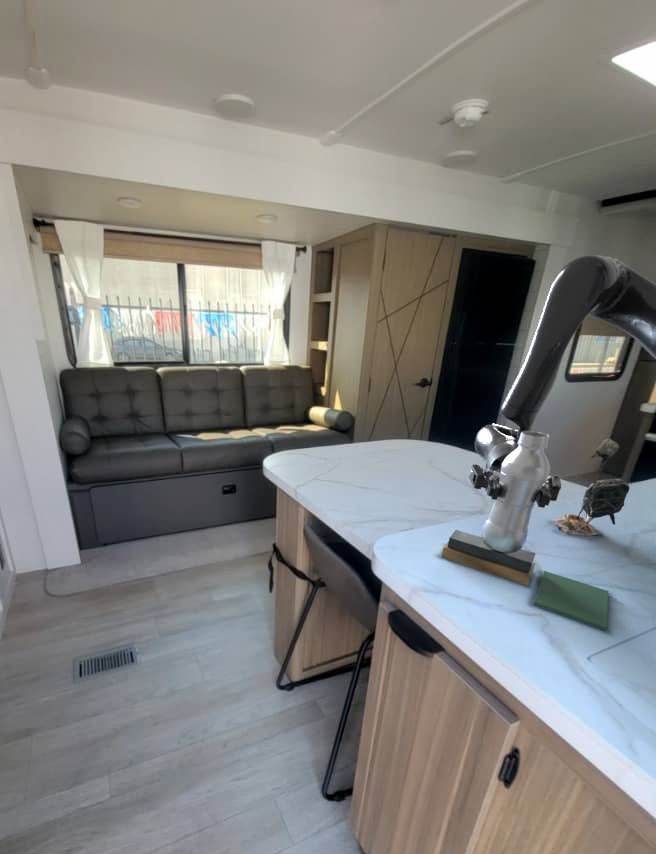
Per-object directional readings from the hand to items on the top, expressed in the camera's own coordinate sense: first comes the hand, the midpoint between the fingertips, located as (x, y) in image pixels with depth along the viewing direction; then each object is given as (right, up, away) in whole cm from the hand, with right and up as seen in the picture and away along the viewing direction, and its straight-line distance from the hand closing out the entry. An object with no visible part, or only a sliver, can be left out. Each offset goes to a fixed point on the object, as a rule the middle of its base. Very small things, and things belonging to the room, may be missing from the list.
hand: (519, 497), depth 63 cm
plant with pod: (+26, -6, +22) cm, 35 cm away
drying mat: (+9, -16, +1) cm, 18 cm away
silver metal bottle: (+1, -9, +7) cm, 11 cm away
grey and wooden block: (-1, -12, +9) cm, 15 cm away
